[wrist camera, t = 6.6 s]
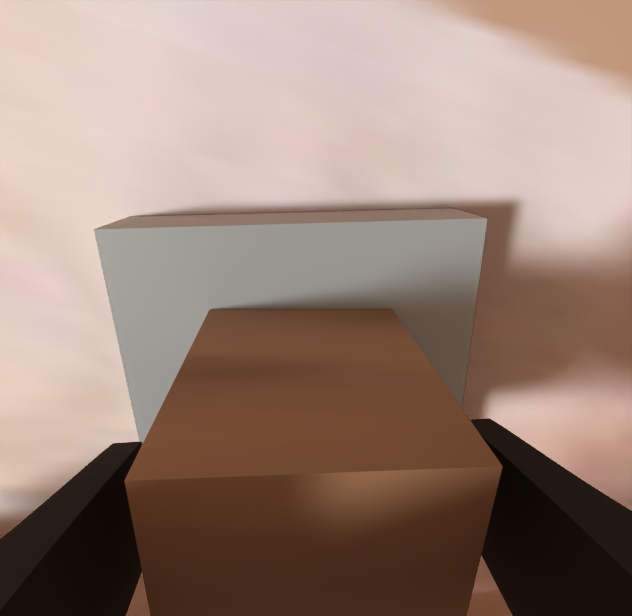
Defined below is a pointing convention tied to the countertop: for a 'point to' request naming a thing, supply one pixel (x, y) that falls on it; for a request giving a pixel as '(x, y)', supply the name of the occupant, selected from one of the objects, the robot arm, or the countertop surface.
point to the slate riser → (287, 281)
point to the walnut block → (310, 474)
